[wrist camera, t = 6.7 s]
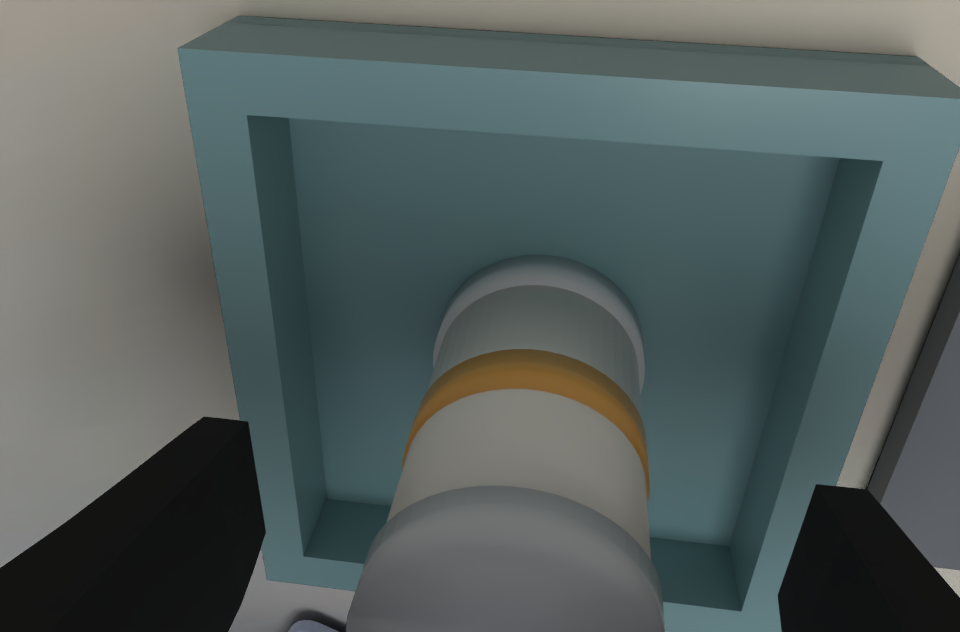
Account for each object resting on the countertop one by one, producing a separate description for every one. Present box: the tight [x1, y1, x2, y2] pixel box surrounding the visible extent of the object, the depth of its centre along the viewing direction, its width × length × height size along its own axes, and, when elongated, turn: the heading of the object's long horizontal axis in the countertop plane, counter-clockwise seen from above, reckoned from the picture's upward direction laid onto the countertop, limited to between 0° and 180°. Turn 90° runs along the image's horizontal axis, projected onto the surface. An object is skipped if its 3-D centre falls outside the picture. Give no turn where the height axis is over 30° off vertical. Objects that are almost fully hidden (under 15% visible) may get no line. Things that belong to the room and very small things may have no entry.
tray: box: [178, 16, 960, 632], centre depth 13 cm, size 10×10×2 cm
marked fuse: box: [346, 255, 665, 632], centre depth 11 cm, size 3×3×6 cm
